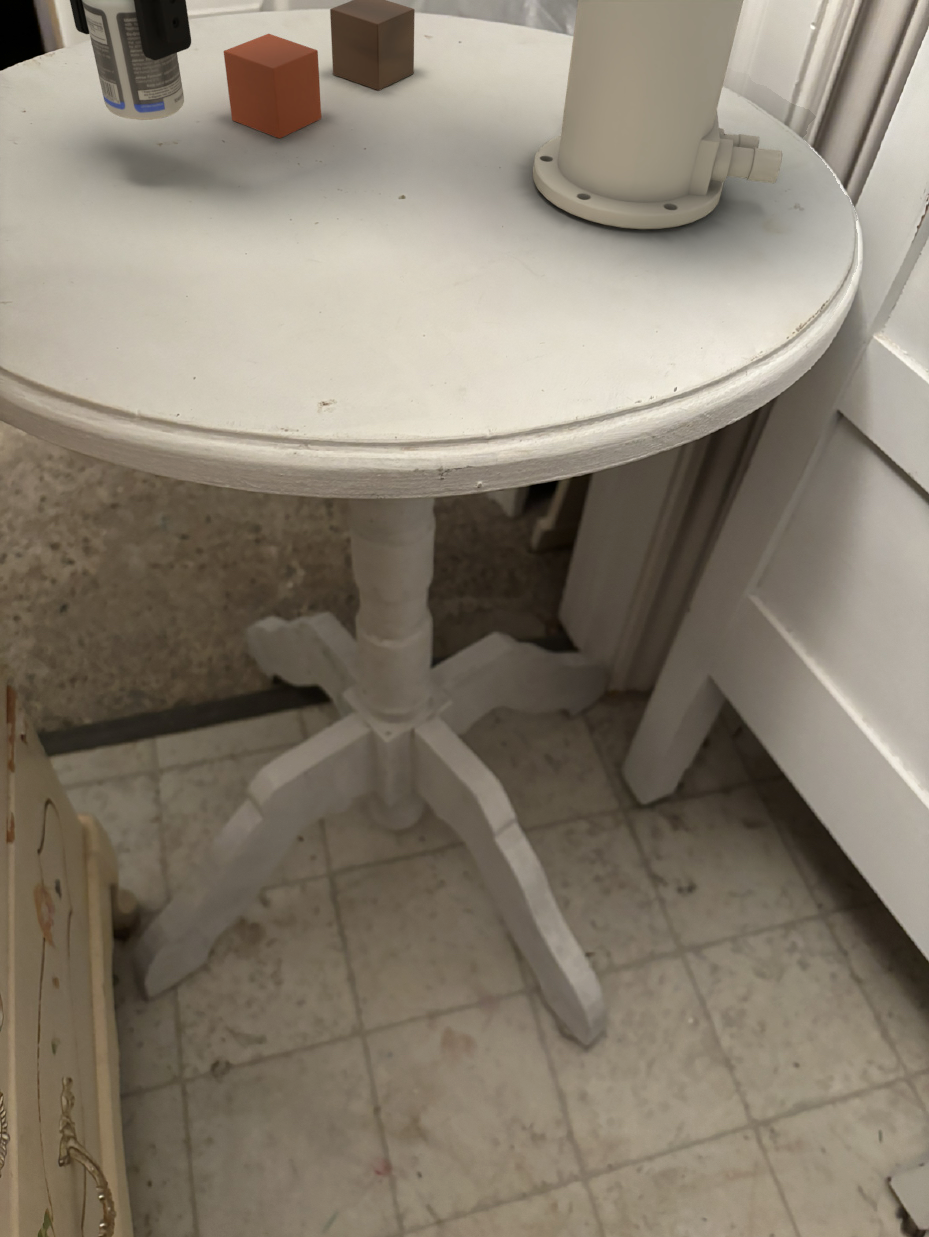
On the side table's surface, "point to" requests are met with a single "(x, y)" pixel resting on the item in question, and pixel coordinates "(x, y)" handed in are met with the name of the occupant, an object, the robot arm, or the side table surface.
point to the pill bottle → (130, 64)
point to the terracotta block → (273, 85)
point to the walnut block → (372, 42)
